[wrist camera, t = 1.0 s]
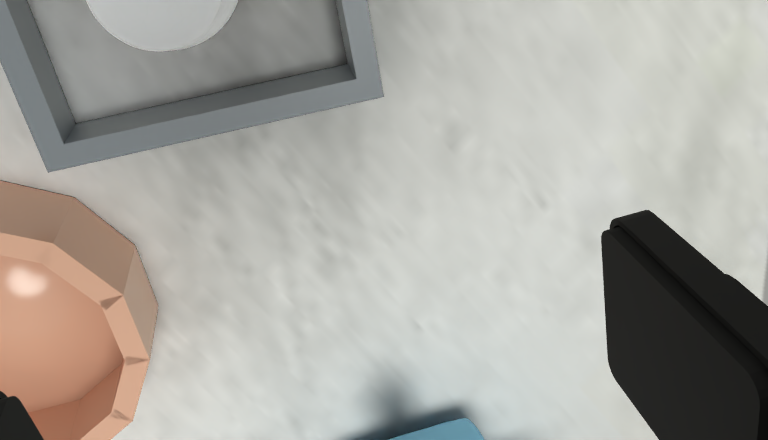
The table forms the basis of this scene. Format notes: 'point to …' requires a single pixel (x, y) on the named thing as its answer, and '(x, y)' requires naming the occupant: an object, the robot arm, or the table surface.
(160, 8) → the pill bottle
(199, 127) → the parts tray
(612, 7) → the table surface
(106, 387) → the bowl
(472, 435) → the teapot
